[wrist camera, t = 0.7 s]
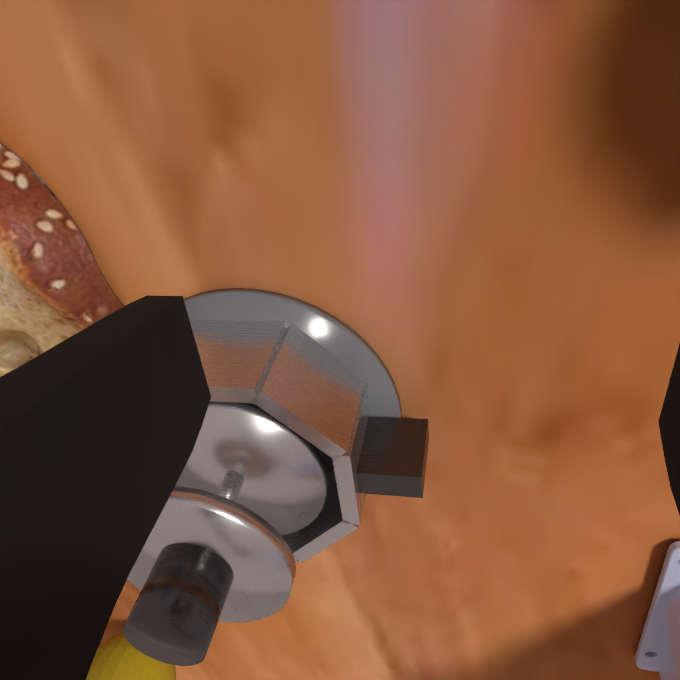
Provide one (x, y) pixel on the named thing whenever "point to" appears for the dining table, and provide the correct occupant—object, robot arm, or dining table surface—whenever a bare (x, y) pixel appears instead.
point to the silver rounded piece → (225, 533)
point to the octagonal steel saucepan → (316, 418)
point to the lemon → (127, 663)
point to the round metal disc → (310, 322)
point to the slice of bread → (42, 269)
